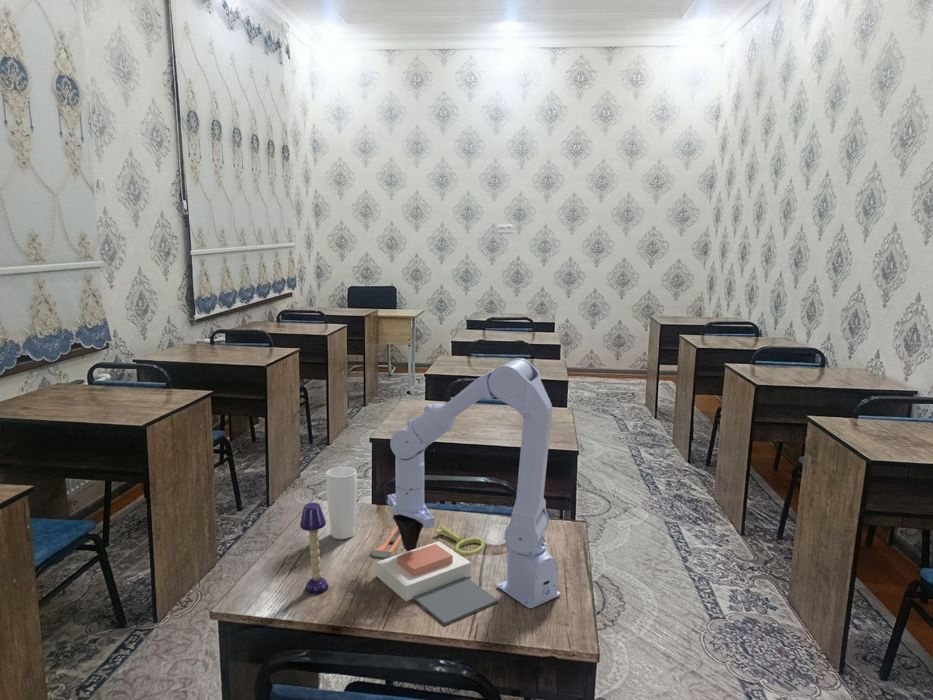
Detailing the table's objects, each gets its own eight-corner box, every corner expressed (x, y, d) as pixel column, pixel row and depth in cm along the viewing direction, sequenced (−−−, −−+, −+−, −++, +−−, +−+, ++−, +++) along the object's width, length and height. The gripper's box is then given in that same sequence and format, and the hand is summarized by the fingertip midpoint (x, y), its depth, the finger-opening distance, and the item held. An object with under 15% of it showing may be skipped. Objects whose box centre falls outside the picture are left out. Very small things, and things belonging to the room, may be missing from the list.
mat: (498, 602, 114) (498, 599, 114) (444, 625, 107) (444, 622, 107) (465, 579, 122) (465, 576, 122) (413, 599, 115) (413, 596, 115)
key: (440, 533, 143) (440, 524, 142) (488, 546, 137) (488, 537, 137) (423, 546, 137) (423, 537, 136) (472, 560, 131) (472, 551, 130)
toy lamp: (302, 596, 116) (299, 511, 113) (302, 583, 120) (299, 501, 117) (329, 592, 117) (326, 508, 114) (327, 580, 121) (325, 498, 119)
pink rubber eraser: (452, 562, 123) (452, 555, 122) (413, 576, 117) (413, 569, 117) (435, 550, 127) (435, 543, 127) (397, 563, 122) (397, 556, 122)
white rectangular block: (470, 576, 123) (470, 562, 123) (405, 601, 114) (405, 586, 114) (439, 554, 132) (439, 541, 132) (376, 576, 123) (376, 561, 123)
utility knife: (368, 554, 130) (394, 518, 148) (368, 558, 130) (394, 522, 148) (388, 556, 130) (411, 520, 147) (388, 561, 130) (411, 524, 147)
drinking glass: (321, 539, 138) (319, 475, 136) (336, 526, 144) (335, 464, 142) (349, 544, 136) (348, 478, 134) (363, 530, 142) (362, 468, 140)
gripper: (374, 478, 128) (375, 540, 130) (412, 501, 116) (412, 569, 118) (404, 471, 132) (404, 531, 134) (443, 492, 120) (442, 558, 123)
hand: (410, 548), depth 127 cm, fingers closed
